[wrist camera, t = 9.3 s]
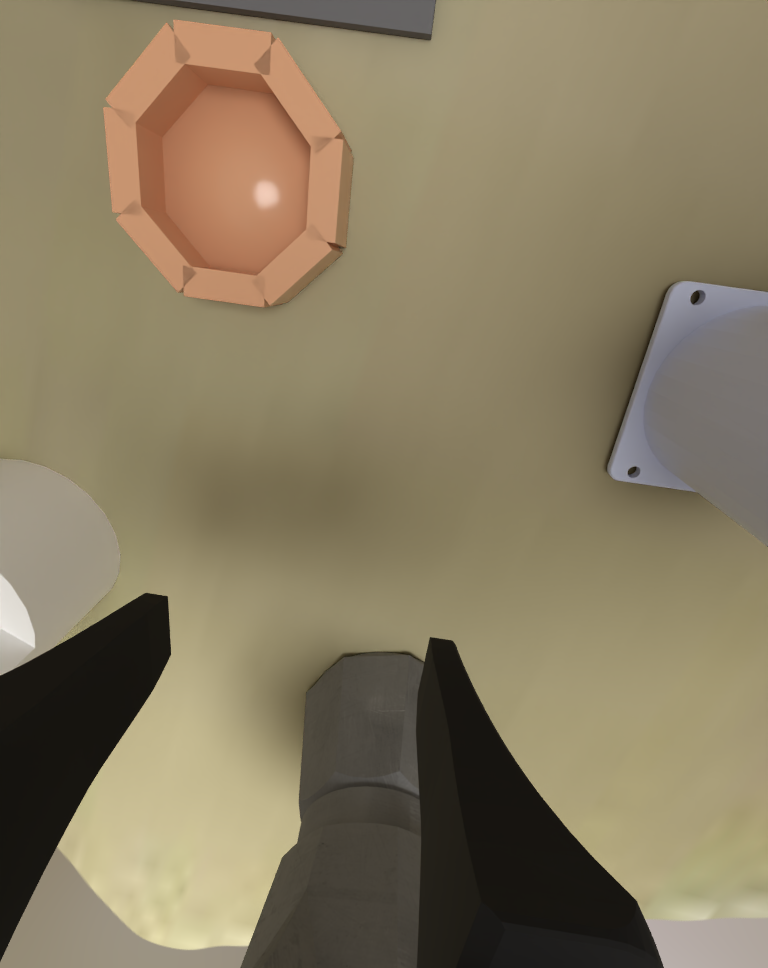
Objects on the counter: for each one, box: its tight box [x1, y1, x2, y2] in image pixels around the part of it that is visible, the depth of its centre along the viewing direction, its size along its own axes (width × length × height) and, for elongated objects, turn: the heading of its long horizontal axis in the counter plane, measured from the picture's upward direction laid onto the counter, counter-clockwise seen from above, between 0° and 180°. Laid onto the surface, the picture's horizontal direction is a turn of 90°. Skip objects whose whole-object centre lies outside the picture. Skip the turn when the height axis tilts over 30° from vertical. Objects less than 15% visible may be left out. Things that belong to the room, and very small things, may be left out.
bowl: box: [103, 20, 354, 307], centre depth 17 cm, size 8×8×2 cm
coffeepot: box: [241, 652, 424, 968], centre depth 20 cm, size 15×9×18 cm, turn 28°
